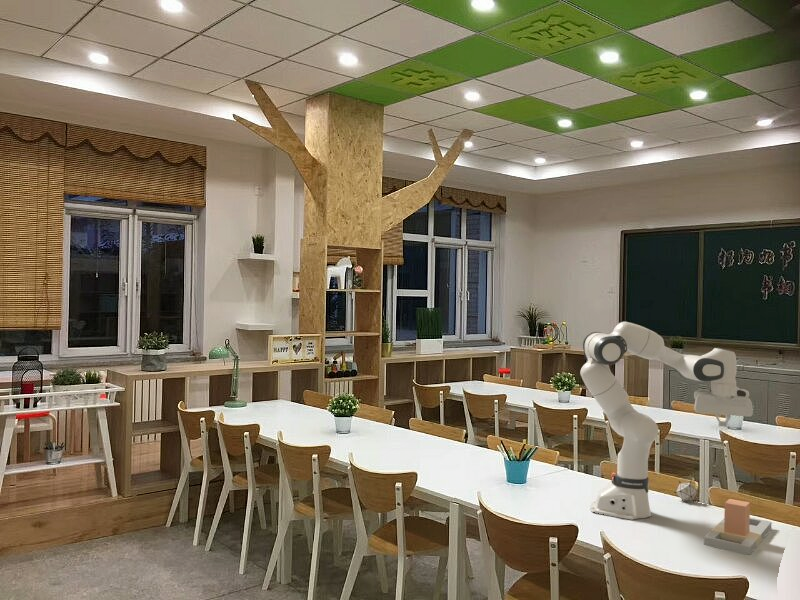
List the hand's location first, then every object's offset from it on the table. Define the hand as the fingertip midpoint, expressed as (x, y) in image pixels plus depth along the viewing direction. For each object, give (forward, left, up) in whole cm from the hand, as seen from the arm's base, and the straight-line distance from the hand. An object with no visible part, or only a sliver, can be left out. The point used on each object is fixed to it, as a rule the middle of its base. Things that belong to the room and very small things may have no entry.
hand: (722, 426), depth 259 cm
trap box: (+4, -24, -34) cm, 42 cm away
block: (+3, -27, -32) cm, 42 cm away
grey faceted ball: (-12, +14, -34) cm, 39 cm away
